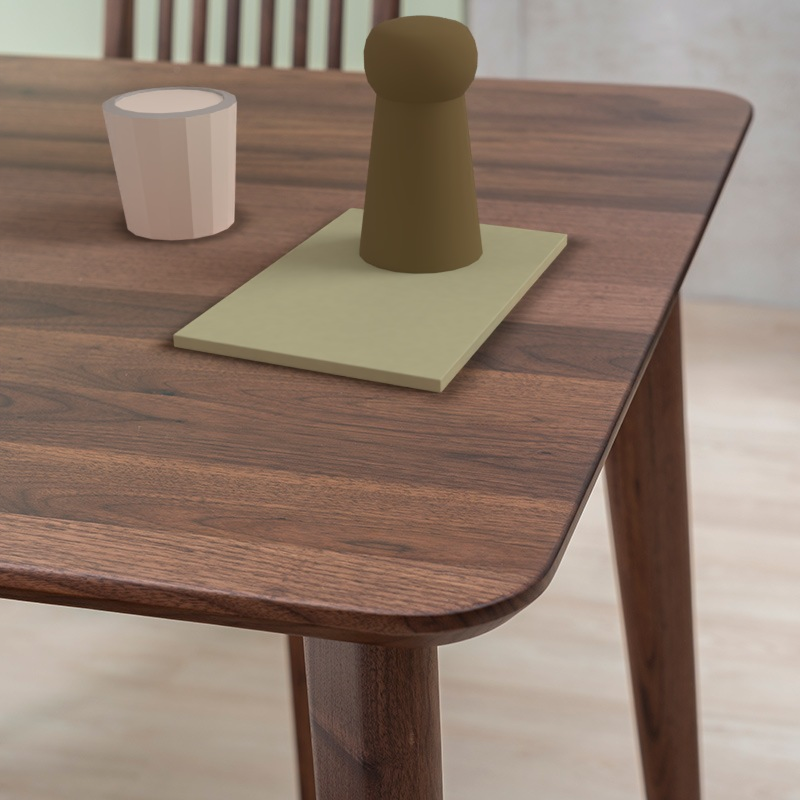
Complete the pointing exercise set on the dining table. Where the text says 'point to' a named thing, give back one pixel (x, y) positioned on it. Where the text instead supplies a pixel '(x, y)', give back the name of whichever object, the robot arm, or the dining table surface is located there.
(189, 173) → the pale pink cup
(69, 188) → the dining table surface
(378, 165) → the cork
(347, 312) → the mat
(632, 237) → the dining table surface
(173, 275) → the dining table surface
